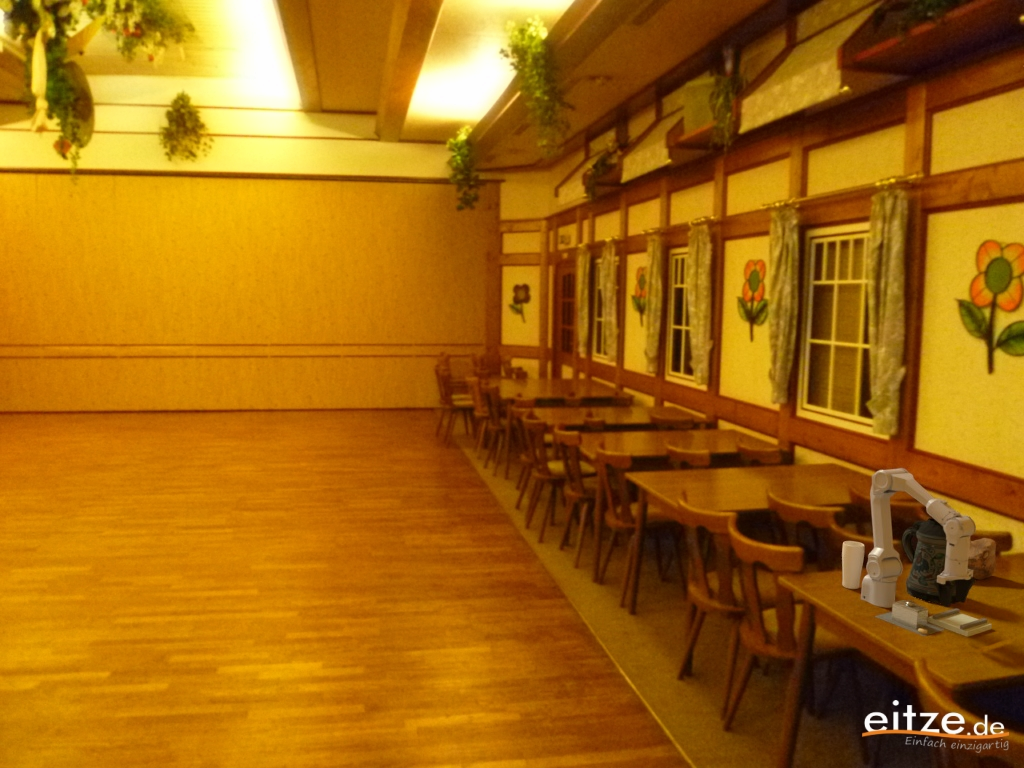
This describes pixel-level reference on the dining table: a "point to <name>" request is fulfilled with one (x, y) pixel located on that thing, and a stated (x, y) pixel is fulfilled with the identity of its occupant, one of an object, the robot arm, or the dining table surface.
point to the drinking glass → (852, 563)
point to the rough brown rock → (982, 558)
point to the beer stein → (926, 559)
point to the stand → (960, 622)
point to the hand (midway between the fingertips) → (952, 603)
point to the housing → (909, 614)
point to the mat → (921, 631)
